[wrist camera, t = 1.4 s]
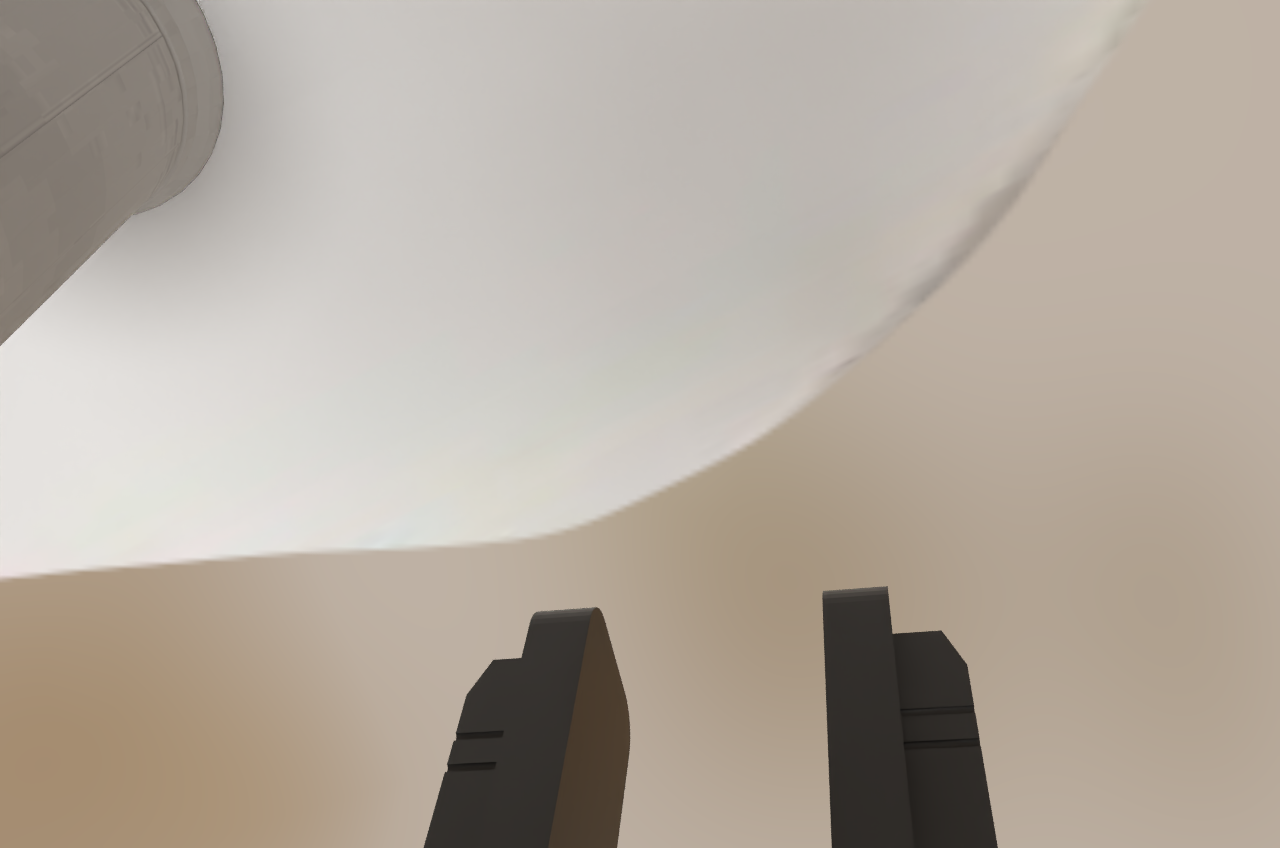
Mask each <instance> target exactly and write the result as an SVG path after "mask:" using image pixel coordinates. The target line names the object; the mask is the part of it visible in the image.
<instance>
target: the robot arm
mask: <svg viewBox="0 0 1280 848" xmlns="http://www.w3.org/2000/svg"><path fill="white" fill-rule="evenodd" d="M823 624H824V650H825V678H826V705H827V731H828V757H829V785H830V809H831V837H832V848H998V847H997V840H996V834H995V828H994V822H993V816H992V810H991V805H990V799H989V792H988V787H987V781H986V775H985V769H984V763H983V757H982V751H981V746H980V740H979V733H978V727H977V721H976V715H975V712H974V703H973V697H972V691H971V685H970V679H969V674H968V667H967V664H966V663H965V661H964V660H963V659H962V658H961V656H960V655H959V653H958V652H957V651H956V649H955V648H954V647H953V645H952V644H951V643H950V641H949V640H948V639H947V637H946V636H945V635H944V634H943V632H942V631H928V632H913V633H898V634H892V625H891V616H890V605H889V596H888V587H887V586H886V587H873V588H859V589H845V590H833V591H823ZM456 737H457V738H456V741H454V742H453V745H452V749H451V753H450V756H449V760H448V763H447V765H448V771H447V772H445V774H444V777H443V781H442V785H441V788H440V792H439V795H438V799H437V802H436V806H435V809H434V813H433V817H432V820H431V824H430V827H429V831H428V834H427V838H426V841H425V845H424V848H617V844H618V836H619V828H620V821H621V813H622V805H623V798H624V790H625V782H626V774H627V767H628V759H629V751H630V750H629V749H630V722H629V711H628V705H627V699H626V695H625V691H624V688H623V684H622V681H621V677H620V674H619V670H618V667H617V663H616V659H615V656H614V652H613V648H612V645H611V641H610V638H609V634H608V631H607V627H606V623H605V620H604V617H603V614H602V612H601V611H600V609H599V608H597V607H596V608H582V609H569V610H554V611H541V612H536V613H535V614H534V615H533V617H532V619H531V622H530V625H529V629H528V633H527V637H526V642H525V646H524V650H523V654H522V658H516V659H502V660H493V661H492V662H491V664H490V665H489V667H488V668H487V669H486V670H485V672H484V673H483V674H482V676H481V677H480V678H479V680H478V681H477V682H476V683H475V685H474V686H473V687H472V689H471V690H470V691H469V693H468V694H467V696H466V699H465V703H464V706H463V710H462V713H461V717H460V721H459V724H458V728H457V731H456Z"/></svg>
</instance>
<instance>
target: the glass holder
mask: <svg viewBox="0 0 1280 848" xmlns="http://www.w3.org/2000/svg"><path fill="white" fill-rule="evenodd" d="M223 104H224V102H223V84H222V72H221V68H220V63H219V59H218V54H217V50H216V45H215V42H214V40H213V37H212V35H211V32H210V30H209V27H208V25H207V22H206V20H205V17H204V14H203V12H202V11H201V9H200V7H199V5H198V4H197V2H196V0H0V346H1V345H2V344H3V343H4V342H5V341H6V340H7V339H8V338H9V337H10V336H11V335H12V334H13V333H14V332H15V331H16V330H17V329H18V328H19V327H20V326H21V325H22V324H23V323H24V322H25V321H26V320H27V319H28V318H29V317H30V316H31V315H32V314H33V313H34V312H35V311H36V310H37V309H38V308H39V307H40V306H41V305H42V304H43V303H44V302H45V301H46V300H47V299H48V298H49V297H50V296H51V295H52V294H53V293H54V292H55V291H56V290H57V289H58V288H59V287H60V286H61V285H62V284H63V283H64V282H65V281H66V280H67V279H68V278H69V277H70V276H71V275H72V274H73V273H74V272H75V271H76V270H77V269H78V268H79V267H80V266H81V265H82V264H83V263H84V262H85V261H86V260H87V259H88V258H89V257H90V256H91V255H92V254H93V253H94V252H95V251H96V250H97V249H98V248H99V247H100V246H101V245H102V244H103V243H104V242H105V241H106V240H107V239H108V238H109V237H110V236H111V235H112V234H113V233H114V232H115V231H116V230H117V229H118V228H119V227H120V226H121V225H123V224H124V223H125V222H126V221H127V220H128V219H129V218H130V217H131V216H132V215H135V214H139V213H141V212H144V211H147V210H149V209H152V208H155V207H158V206H160V205H162V204H163V203H165V202H166V201H168V200H169V199H171V198H173V197H174V196H176V195H177V194H179V193H180V192H182V191H183V190H184V189H185V188H186V187H187V186H188V185H189V184H190V183H191V182H192V181H193V180H194V179H195V178H196V177H197V176H198V175H199V173H200V172H201V170H202V169H203V167H204V165H205V164H206V162H207V161H208V159H209V157H210V156H211V154H212V151H213V149H214V146H215V143H216V140H217V137H218V134H219V131H220V126H221V119H222V111H223Z"/></svg>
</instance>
